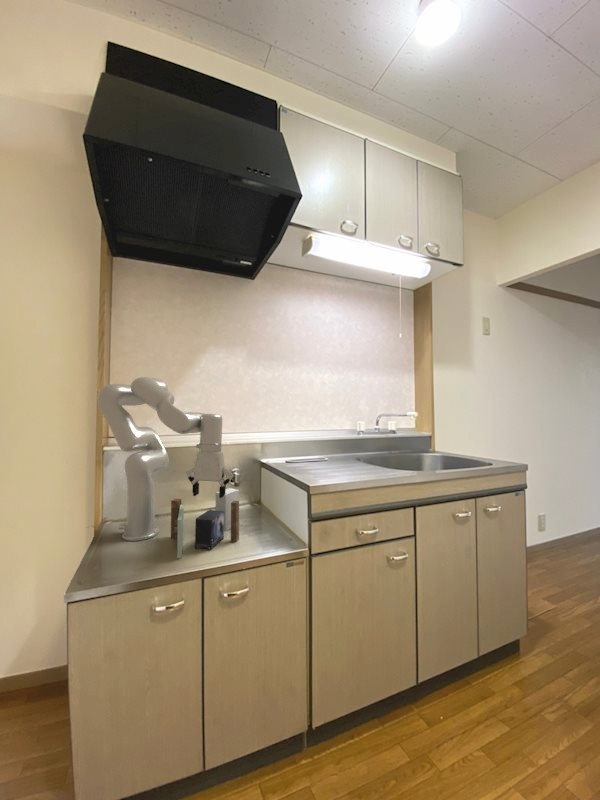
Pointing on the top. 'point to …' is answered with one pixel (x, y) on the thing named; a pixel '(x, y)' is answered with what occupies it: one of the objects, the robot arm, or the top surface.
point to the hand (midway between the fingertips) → (208, 496)
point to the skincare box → (227, 505)
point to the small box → (209, 529)
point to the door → (180, 530)
